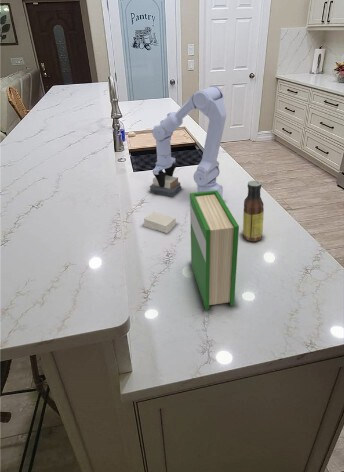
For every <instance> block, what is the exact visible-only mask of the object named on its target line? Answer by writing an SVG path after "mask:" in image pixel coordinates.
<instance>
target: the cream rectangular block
mask: <svg viewBox="0 0 344 472" xmlns="http://www.w3.org/2000/svg"><path fill="white" fill-rule="evenodd" d="M143 221H144V222H143V227H145V228H149V229H151V230H154V231H159V232H161V233H165V234H168V233H169V232H170V231H171V230H172V229H173V228H175V226H176V224H177V223H176V218H175V217H172V216H169V215H167V214H163V213H160V212H156V211H152V213H150V214H149V215H147V216H146V217H145V218H144V219H143Z"/></svg>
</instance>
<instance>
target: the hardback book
mask: <svg viewBox="0 0 344 472" xmlns="http://www.w3.org/2000/svg"><path fill="white" fill-rule="evenodd" d="M189 208H190V209H189V210H190V211H189V212H190V213H189V214H190V215H189V216H190V220H189V221H190V263H191V268H192V271H193V274H194V278H195V281H196V284H197V287H198V290H199V294H200V296H201V297H200V298H201V300H202V303H203V306H204V309H205V310H206V311H208V310H210V306H212V305H214V306H215V305H220V304H221V305H222V304H226V303H227V304H229V307H233V306H235V295H236V281H237V280H236V279H237V264H238V251H239V250H238V248H239V232H240V225H239V224H238V222H237V220H236V219H235V217H234V216H233V214H232V212H231V210H230V209H229V207H228V206H227V204H226V202H225V201H224V198H223V196H222V197H221V196H220V194H219V192H218V191H217V190H215V191H206V192H197V191H196V192H190V193H189Z"/></svg>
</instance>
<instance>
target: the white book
mask: <svg viewBox="0 0 344 472" xmlns="http://www.w3.org/2000/svg"><path fill="white" fill-rule="evenodd" d="M178 182H179V177H177V176H173V177H172V176H168V175H166V177H165V185H164V188H168V189H172V188H174V187H175V186H176V185H177V184H178ZM152 184H153V185H155V186H159V184H158V181H157V179H156V177H155V176H154V177H153V178H152Z"/></svg>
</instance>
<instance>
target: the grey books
mask: <svg viewBox="0 0 344 472" xmlns="http://www.w3.org/2000/svg"><path fill="white" fill-rule="evenodd" d="M181 185H182V184H181V182H180V181H178V184H177V185H176V186H175V187H174V188H172V189H168V188H164V187H160V186H155V185H153V183H152V184H151V185H150V186H149V192H150V193H151V194H156V195H161V196H164V197H168V198H169V197H170V198H174V197H175V196H176V195H177V194H178V193H179V192H181V191H182V189H183V186H181Z"/></svg>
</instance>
